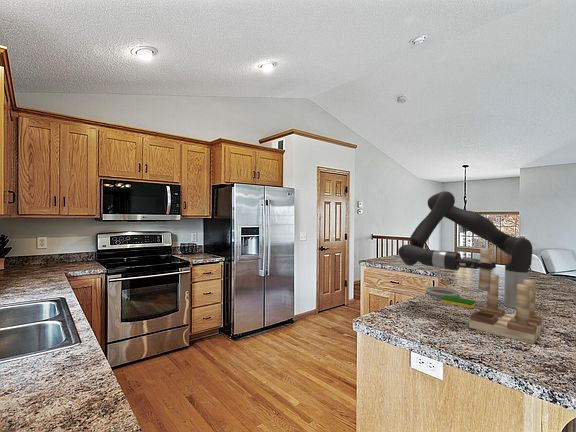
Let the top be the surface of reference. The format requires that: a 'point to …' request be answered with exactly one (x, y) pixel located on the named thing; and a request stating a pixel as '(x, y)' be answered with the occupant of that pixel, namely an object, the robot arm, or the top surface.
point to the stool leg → (485, 273)
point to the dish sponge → (458, 301)
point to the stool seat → (511, 326)
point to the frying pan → (442, 291)
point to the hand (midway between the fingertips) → (493, 266)
